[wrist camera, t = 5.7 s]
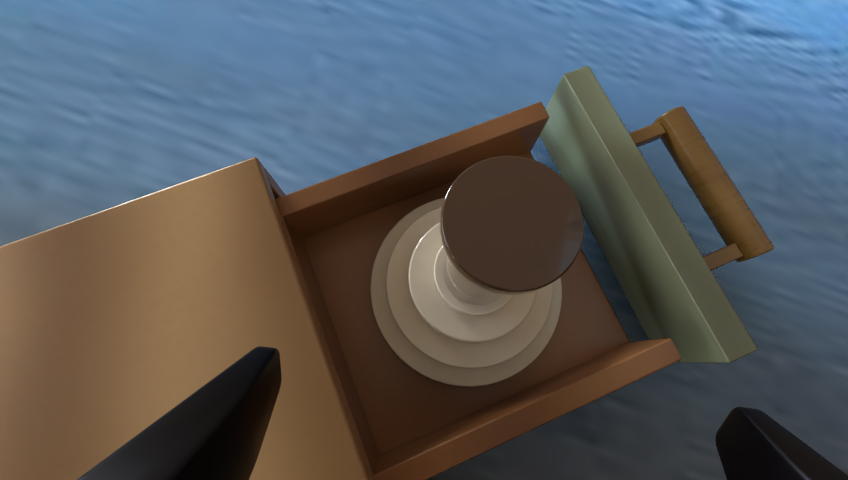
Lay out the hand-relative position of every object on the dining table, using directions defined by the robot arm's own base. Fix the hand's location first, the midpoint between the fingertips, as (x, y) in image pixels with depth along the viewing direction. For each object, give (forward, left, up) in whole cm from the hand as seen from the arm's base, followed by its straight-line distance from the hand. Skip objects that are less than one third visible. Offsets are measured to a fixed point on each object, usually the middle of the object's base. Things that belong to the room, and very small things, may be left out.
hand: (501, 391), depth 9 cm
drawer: (-3, -5, -10) cm, 12 cm away
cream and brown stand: (0, -4, -9) cm, 10 cm away
